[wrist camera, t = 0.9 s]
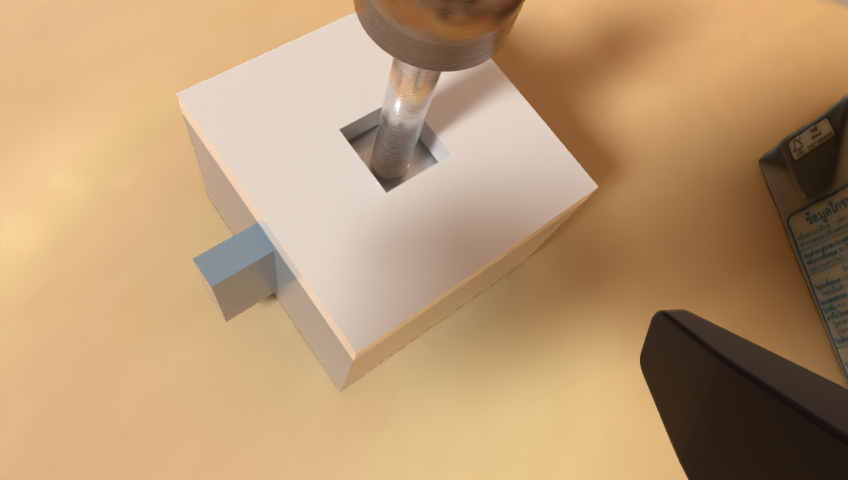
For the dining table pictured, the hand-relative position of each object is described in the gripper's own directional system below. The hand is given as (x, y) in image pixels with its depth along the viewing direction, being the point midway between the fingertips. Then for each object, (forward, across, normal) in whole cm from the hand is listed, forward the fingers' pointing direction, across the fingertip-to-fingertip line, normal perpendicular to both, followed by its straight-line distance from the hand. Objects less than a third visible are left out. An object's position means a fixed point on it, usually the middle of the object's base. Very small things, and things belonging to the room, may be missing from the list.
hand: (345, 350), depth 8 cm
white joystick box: (+15, -2, +6) cm, 17 cm away
